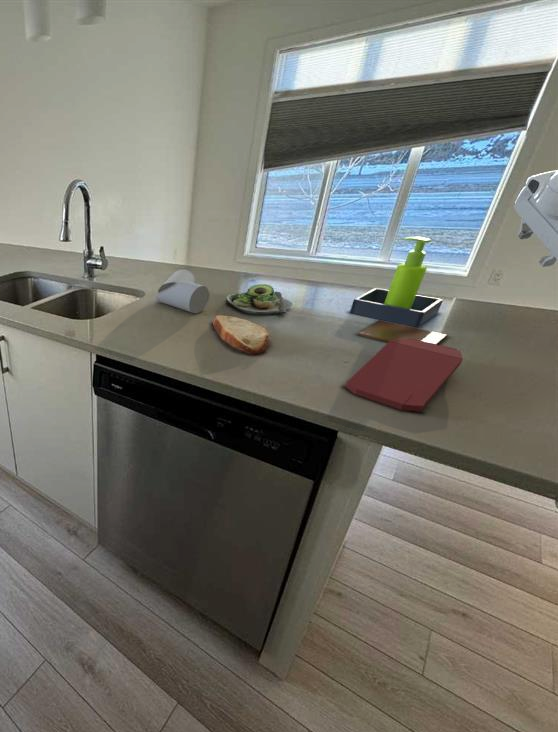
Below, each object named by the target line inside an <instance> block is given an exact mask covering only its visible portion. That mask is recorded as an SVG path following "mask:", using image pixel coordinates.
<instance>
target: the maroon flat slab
mask: <svg viewBox="0 0 558 732" xmlns="http://www.w3.org/2000/svg"><path fill="white" fill-rule="evenodd" d="M462 361H463V355H462V352H461V350H459V349H457V348H454V347H449V346H445V345H441V344H433V343H428V342H424V341H419V340H415V339H411V338H409V339H407V338H401V339H397V340H392V341H389V342H386V344H385V345H384V346H382V348H381V349H380V350H378V351H377V352H376V353H375V355H373V356H372V357H371V358H370V359H369V360H368V361H367V362H366V363H365V364H364V365H362V367H360V369H358V371H356V372H355V373H354V375H353V376H351V377H350V378H349V379H348V380H347V381H346V385H345V388H346V389H347V390H348V391H350V392H351V393H353V394H354V395H357V396H359V397H363V398H365V399H368V400H370V401H374V402H377V403H380V404H382V405H385V406H388V407H391V408H394V409H398V410H401V411H406V412H407V411H408V412H417V413H418V412H419V413H420V412H422V410H423V409H424V408H425V407H426V406H427V404H428V403H429V402H430V401H431V399H433V397H434V396H435V395H436V394H437V392H439V390H441V388H442V386H443V385H444V384H445V383H446V382H447V381H448V380H449V378H450V377H451V376H453V374H454V373H455V372H456V370H457V369H458V368H459V366H460V365H461V363H462Z"/></svg>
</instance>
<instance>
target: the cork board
mask: <svg viewBox="0 0 558 732" xmlns="http://www.w3.org/2000/svg"><path fill="white" fill-rule="evenodd" d="M357 336H361V337H365V338H369V339H373V340H377V341H379V342H385V343H388V342H389V341H392V340H397V339H401V338H407V339H409V338H411V339H415V340H419V341H424V342H428V343H433V344H437V345H440V343H441V342H443V340H445V339H446V338H447V337H448V334H446V333H442V332H438V331H437V332H436V331H432V330H428V329H424V328H423V329H422V328H419V327H414V326H409V325H404V324H400V323H395V322H390V321H386V320H381V319H378V320H377V321H375V322H374V323H372V324H370V325H369V326H368V327H366V328H364V329H363V330H361V331H360V332H358V334H357Z"/></svg>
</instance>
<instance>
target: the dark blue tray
mask: <svg viewBox="0 0 558 732" xmlns="http://www.w3.org/2000/svg"><path fill="white" fill-rule="evenodd" d="M388 291H389V289H386V288H379V287H374V288H372V289H369V290H368V291H366V292H365V293H363V294H361V295H359V296H357V297H356V298H354V299H353V301H352V304H351V306H350V307H351V308H350V311H349V314H354V315H359V316H363V317H368V318H372V319H377V320H381V321H386V322H391V323H395V324H400V325H405V326H409V327H414V328H419V327H421V326H422V325H423V324H425V323H426V322H427V321H429V320H431V319H432V318H433V317H435V316H436V315H437V314H438V313H439V311H440V308H441V306H442V304H443V301H444V299H443V298H438V297H433V296H426V295H421V294H416V297H415V299H414V302H413V304H412V307H411V309H407V308H402V307H396V306H391V305H386V304H384V303H385V300H386V297H387V294H388Z"/></svg>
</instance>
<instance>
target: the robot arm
mask: <svg viewBox="0 0 558 732" xmlns="http://www.w3.org/2000/svg"><path fill="white" fill-rule="evenodd" d="M513 209H514V212H515V213H516V214H517V215H518V216H519V217H520V218H521V220H520V225H519V231H518V232H517V234H516V236H517V237H518V238H519V240H524V239H525V240H527V239H529V238H531V237H532V235H533V233H534V235H535V236H536V237H537V238H538V239H539V241H540V242H541V243H542V244H543V245H544V247H546V249H547V250H548V251H549V254H548V255H545V256H544V255H543V256H542V257H541V258H540V260H539V261H538V263H539V264H540V265H541V267H542V268H546V267H551V266H554V265H555V264H556V262H557V261H558V169H556V170H551V171H546V172H543V173H539V174H535V175H531V176H529V177H528V178H527V180H526V182H525V186H524V187H523V188H522V190H521V191H520V193H519V194H518V196H517V198H516V200H515V202H514V207H513Z"/></svg>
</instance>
